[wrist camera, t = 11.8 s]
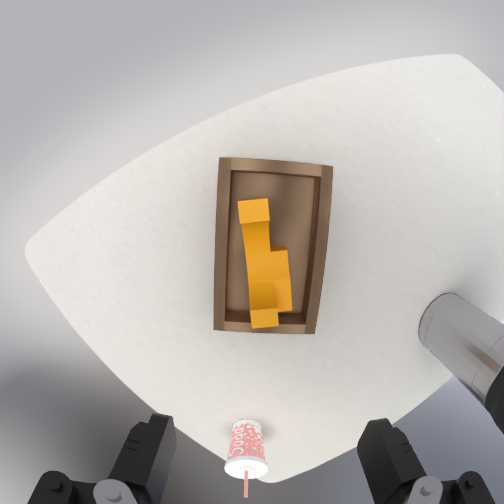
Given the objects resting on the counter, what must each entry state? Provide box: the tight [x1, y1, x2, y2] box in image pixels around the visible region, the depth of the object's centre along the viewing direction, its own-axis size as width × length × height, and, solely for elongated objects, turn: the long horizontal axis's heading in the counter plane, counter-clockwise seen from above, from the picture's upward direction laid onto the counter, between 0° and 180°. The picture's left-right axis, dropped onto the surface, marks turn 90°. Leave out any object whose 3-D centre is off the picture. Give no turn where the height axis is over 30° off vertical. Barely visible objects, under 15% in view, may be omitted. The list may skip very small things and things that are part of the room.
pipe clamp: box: [238, 198, 292, 329], centre depth 27 cm, size 12×4×6 cm, turn 6°
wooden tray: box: [214, 157, 333, 334], centre depth 29 cm, size 11×18×4 cm, turn 177°
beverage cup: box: [225, 419, 268, 498], centre depth 30 cm, size 6×6×14 cm
